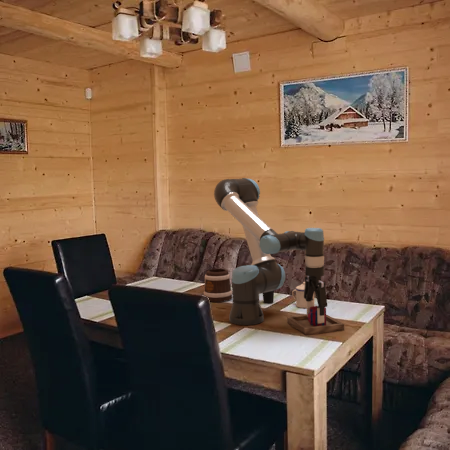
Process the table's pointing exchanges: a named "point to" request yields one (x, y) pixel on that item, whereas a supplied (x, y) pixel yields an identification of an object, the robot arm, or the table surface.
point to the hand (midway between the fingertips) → (315, 319)
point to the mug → (217, 285)
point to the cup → (315, 317)
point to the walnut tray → (307, 329)
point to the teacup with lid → (300, 296)
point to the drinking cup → (268, 297)
